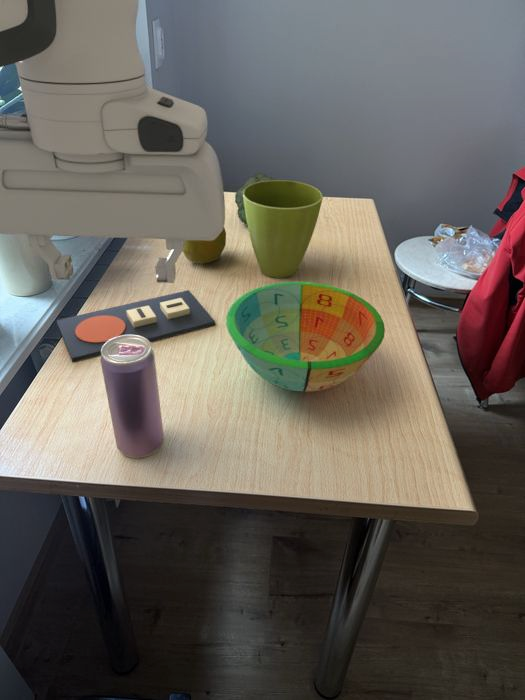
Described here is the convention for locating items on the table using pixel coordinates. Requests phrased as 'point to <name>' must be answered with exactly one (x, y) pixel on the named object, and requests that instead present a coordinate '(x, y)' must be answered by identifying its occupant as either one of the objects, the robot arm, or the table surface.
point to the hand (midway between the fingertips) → (114, 278)
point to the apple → (205, 249)
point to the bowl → (304, 333)
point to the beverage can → (133, 394)
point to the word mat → (133, 323)
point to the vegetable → (239, 194)
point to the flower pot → (281, 223)
